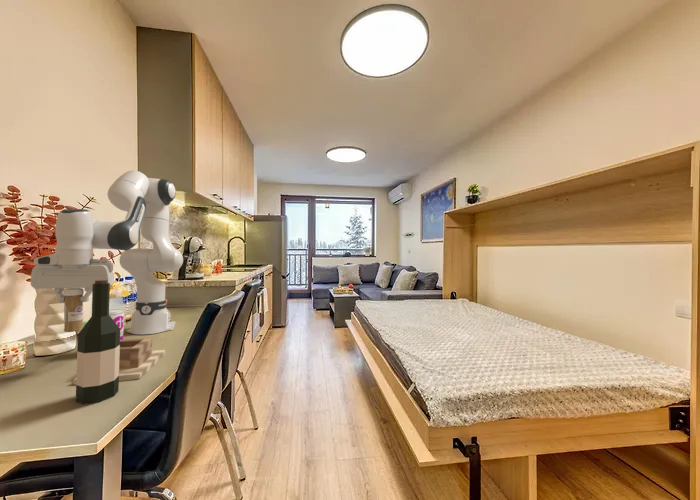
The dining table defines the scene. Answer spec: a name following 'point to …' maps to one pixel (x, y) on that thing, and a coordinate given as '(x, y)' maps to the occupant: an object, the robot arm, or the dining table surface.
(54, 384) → the dining table surface
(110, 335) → the wine bottle
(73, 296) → the sprinkles bottle
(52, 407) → the dining table surface
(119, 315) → the supplement can
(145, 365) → the holder board
